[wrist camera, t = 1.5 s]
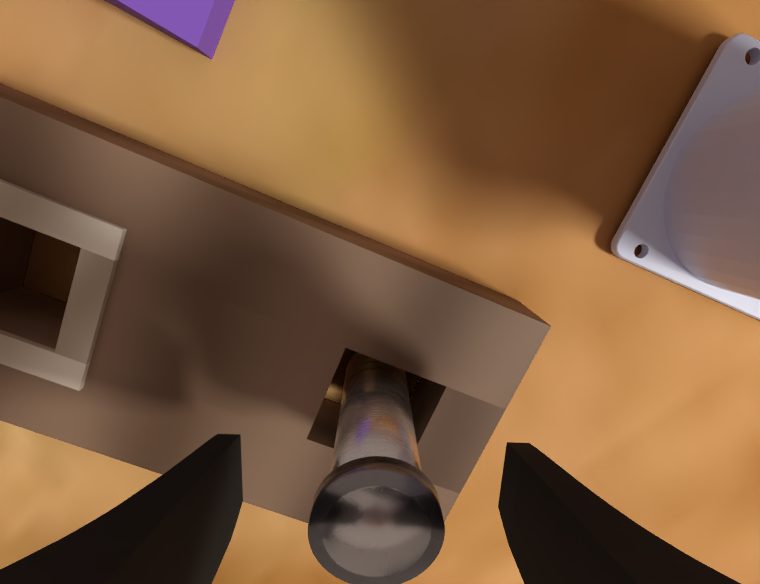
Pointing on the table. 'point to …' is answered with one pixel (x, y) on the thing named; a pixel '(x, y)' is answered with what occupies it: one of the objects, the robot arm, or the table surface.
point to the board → (226, 317)
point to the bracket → (183, 19)
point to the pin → (375, 485)
